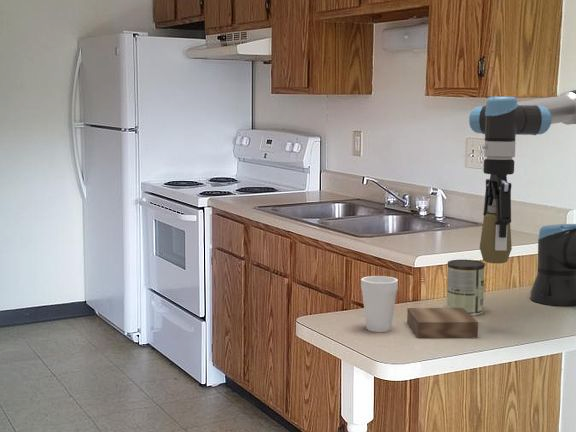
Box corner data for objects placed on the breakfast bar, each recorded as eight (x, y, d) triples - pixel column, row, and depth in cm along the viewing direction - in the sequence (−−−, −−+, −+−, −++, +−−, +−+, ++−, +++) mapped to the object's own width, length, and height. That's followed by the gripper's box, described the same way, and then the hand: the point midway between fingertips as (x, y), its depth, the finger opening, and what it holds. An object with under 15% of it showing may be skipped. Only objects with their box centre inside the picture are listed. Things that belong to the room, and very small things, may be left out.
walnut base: (462, 322, 214) (463, 307, 213) (477, 337, 199) (478, 322, 198) (407, 322, 213) (407, 308, 213) (417, 338, 198) (418, 322, 198)
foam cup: (395, 334, 202) (396, 284, 200) (359, 332, 203) (359, 282, 202) (397, 325, 211) (398, 276, 209) (362, 323, 213) (363, 275, 211)
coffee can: (444, 306, 231) (445, 259, 230) (480, 307, 230) (482, 259, 229) (448, 315, 221) (449, 265, 219) (485, 316, 220) (487, 266, 218)
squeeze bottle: (483, 258, 210) (485, 190, 208) (514, 260, 206) (517, 191, 204) (475, 262, 203) (478, 192, 201) (507, 265, 199) (510, 193, 197)
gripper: (473, 156, 212) (470, 241, 214) (496, 160, 191) (493, 254, 194) (501, 156, 212) (497, 241, 215) (527, 160, 191) (523, 254, 194)
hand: (495, 247), depth 204 cm, fingers closed on squeeze bottle, 8 cm apart
